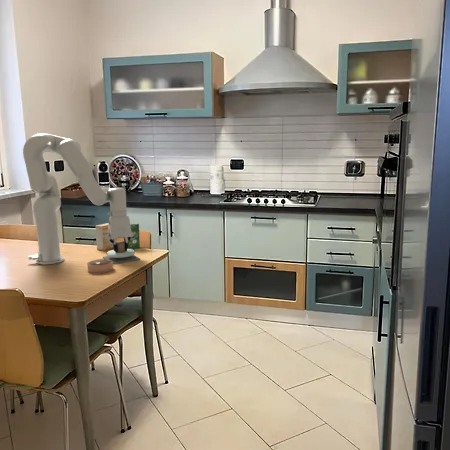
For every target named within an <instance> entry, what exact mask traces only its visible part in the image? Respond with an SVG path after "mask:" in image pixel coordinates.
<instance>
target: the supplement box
mask: <svg viewBox="0 0 450 450" xmlns="http://www.w3.org/2000/svg"><path fill="white" fill-rule="evenodd" d="M108 225H109V222H108V223H107V222H106V223H102V224H98V225H97V224H96V225H95V236H96V238H95V239H96V250H97V251H107V250H109V249H113V243H112V242H110V241H109V240H107V239H105V238H106V236H107V234H108ZM110 239H112V238H111V237H110Z"/></svg>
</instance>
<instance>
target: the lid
mask: <svg viewBox="0 0 450 450" xmlns="http://www.w3.org/2000/svg"><path fill="white" fill-rule="evenodd" d="M116 244H117V246H118V252H117V253H116V252H115V251H114V250H113V249H112V250H109V251H107V252H106V256H108V257H112V258H124V257H129V256H132V255H135V250H134V249H127V251H125V241H124V240H117V241H116Z"/></svg>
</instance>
